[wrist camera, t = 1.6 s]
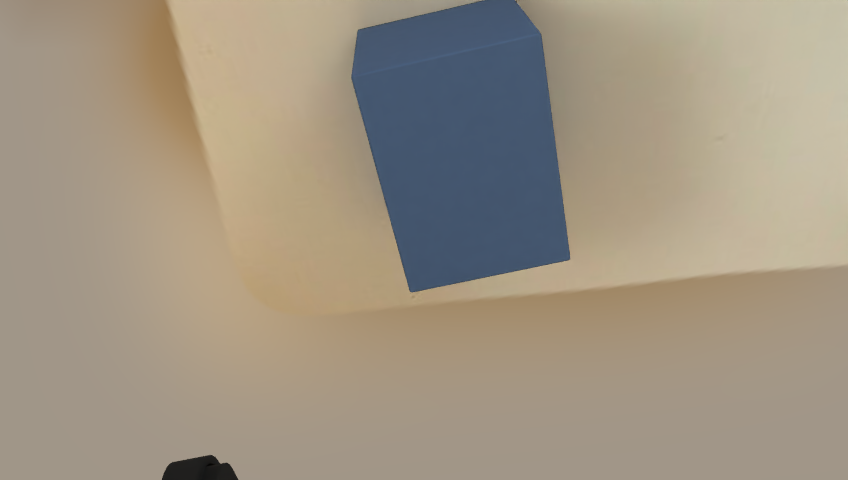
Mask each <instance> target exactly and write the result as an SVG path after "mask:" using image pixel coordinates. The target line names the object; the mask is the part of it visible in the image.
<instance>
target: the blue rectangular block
mask: <svg viewBox="0 0 848 480" xmlns="http://www.w3.org/2000/svg"><path fill="white" fill-rule="evenodd" d="M351 78H352V82H353V86H354V89H355V93H356V97H357V100H358V104H359V108H360V111H361V115H362V119H363V122H364V126H365V129H366V133H367V137H368V140H369V144H370V148H371V151H372V155H373V159H374V162H375V166H376V170H377V173H378V177H379V181H380V184H381V188H382V192H383V195H384V199H385V203H386V206H387V210H388V214H389V217H390V221H391V224H392V228H393V232H394V235H395V239H396V243H397V246H398V250H399V254H400V257H401V261H402V265H403V268H404V272H405V276H406V279H407V283H408V287H409V290H410V292H417V291H422V290H426V289H431V288H436V287H441V286H446V285H451V284H456V283H460V282H465V281H470V280H475V279H480V278H485V277H489V276H494V275H499V274H504V273H509V272H514V271H518V270H523V269H528V268H533V267H538V266H543V265H548V264H552V263H557V262H562V261H567V260H570V252H569V244H568V237H567V229H566V221H565V214H564V206H563V198H562V190H561V183H560V175H559V167H558V160H557V152H556V144H555V136H554V129H553V121H552V113H551V106H550V98H549V90H548V82H547V75H546V67H545V59H544V52H543V44H542V36H541V33H540V32H539V30H538V29H537V28H536V27H535V25H534V24H533V23H532V22H531V20H530V19H529V18H528V16H527V15H526V14H525V13H524V11H523V10H522V9H521V7H520V6H519V5H518V4H517V2H516V1H515V0H484V1H480V2H475V3H471V4H467V5H463V6H458V7H454V8H450V9H445V10H441V11H437V12H432V13H428V14H424V15H420V16H415V17H411V18H407V19H402V20H398V21H394V22H389V23H385V24H381V25H376V26H372V27H368V28H364V29H359V30H358V32H357V40H356V47H355V54H354V62H353V69H352V76H351Z"/></svg>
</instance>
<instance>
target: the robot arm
mask: <svg viewBox="0 0 848 480" xmlns="http://www.w3.org/2000/svg"><path fill="white" fill-rule="evenodd" d="M162 480H238V478H237V476H236V475H235V473H234V471H233V469H232V467H231V466H230V464H228V463H222V464H220V463H219V462H218V460H217V459H216V457H214V456H212V455H208V456H203V457H198V458H192V459H187V460H182V461H177V462H172V463H170V464H169V465H168V466H167V468H166V470H165V472H164V475H163V478H162Z"/></svg>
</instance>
